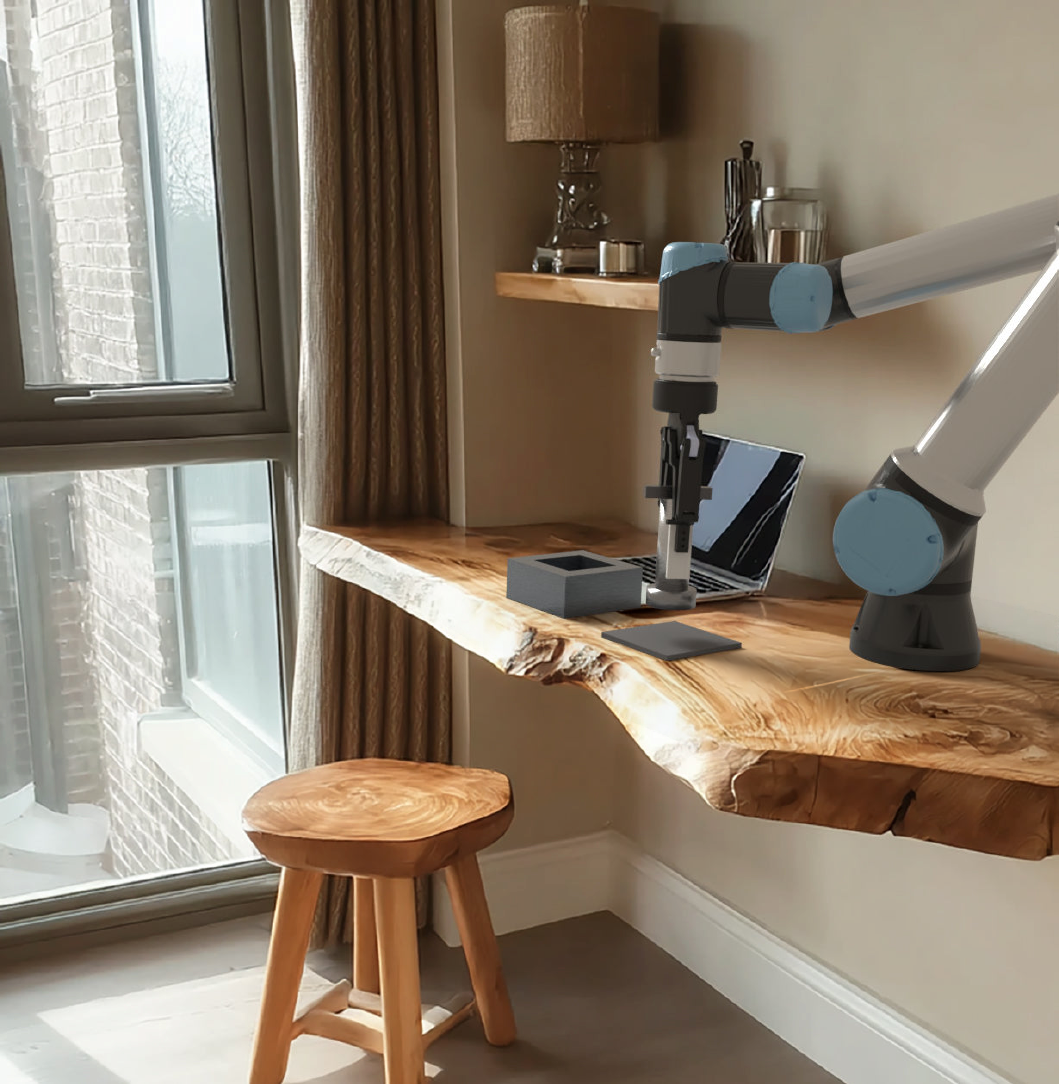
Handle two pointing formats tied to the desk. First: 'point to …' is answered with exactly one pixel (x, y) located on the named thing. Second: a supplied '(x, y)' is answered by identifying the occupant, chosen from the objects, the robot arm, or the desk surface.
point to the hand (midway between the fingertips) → (673, 573)
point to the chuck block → (574, 583)
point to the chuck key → (666, 590)
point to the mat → (671, 640)
